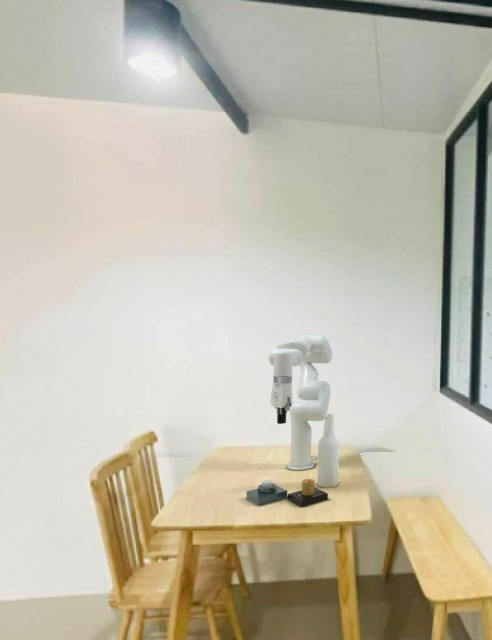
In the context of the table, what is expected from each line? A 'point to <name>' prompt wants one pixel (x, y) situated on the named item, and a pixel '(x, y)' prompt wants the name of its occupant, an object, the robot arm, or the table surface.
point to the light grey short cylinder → (267, 484)
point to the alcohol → (328, 455)
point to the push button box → (266, 494)
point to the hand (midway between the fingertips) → (281, 423)
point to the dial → (308, 487)
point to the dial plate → (307, 497)
